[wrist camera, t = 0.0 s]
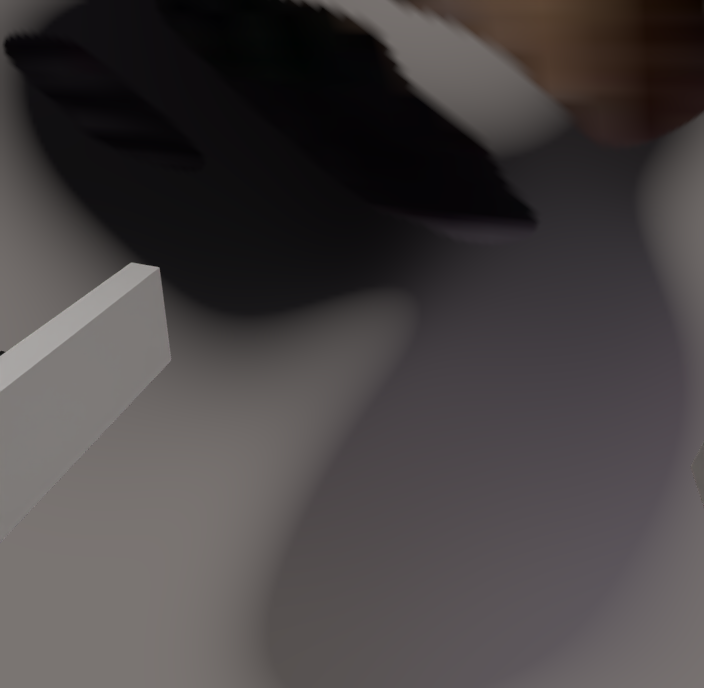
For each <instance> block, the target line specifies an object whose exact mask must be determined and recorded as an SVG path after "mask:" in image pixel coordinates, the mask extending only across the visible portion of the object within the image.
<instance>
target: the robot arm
mask: <svg viewBox="0 0 704 688" xmlns="http://www.w3.org/2000/svg"><path fill="white" fill-rule="evenodd" d="M170 361H171V353H170V345H169V337H168V330H167V322H166V314H165V307H164V299H163V291H162V284H161V276H160V268H159V267H153V266H148V265H142V264H137V263H130V264H129V265H127V266H126V267H124V268H123V269H122V270H120V271H119V272H118V273H116V274H115V275H113V276H112V277H110V278H109V279H108V280H106V281H105V282H103V283H102V284H101V285H99V286H98V287H96V288H95V289H94V290H92V291H91V292H89V293H88V294H87V295H85V296H84V297H82V298H81V299H79V300H78V301H77V302H75V303H74V304H73V305H71V306H70V307H68V308H67V309H65V310H64V311H63V312H61V313H60V314H58V315H57V316H56V317H54V318H53V319H51V320H50V321H49V322H47V323H46V324H44V325H43V326H42V327H40V328H39V329H38V330H36V331H35V332H33V333H32V334H30V335H29V336H28V337H26V338H25V339H23V340H22V341H21V342H19V343H18V344H16V345H15V346H14V347H12V348H11V349H10V350H8V351H7V352H4V351H0V543H1V542H2V540H3V539H4V538H5V537H6V536H7V535H8V534H9V533H10V532H11V531H12V530H13V529H14V528H15V527H16V526H17V524H18V523H19V522H20V521H21V520H22V519H23V518H24V517H25V516H26V515H27V514H28V513H29V512H30V511H31V510H32V509H33V507H34V506H35V505H36V504H37V503H38V502H39V501H40V500H41V499H42V498H43V497H44V496H45V495H46V493H48V491H49V490H50V489H51V488H52V487H53V486H54V485H55V484H56V483H57V482H58V481H59V480H60V479H61V478H62V477H63V475H64V474H65V473H66V472H67V471H68V470H69V469H70V468H71V467H72V466H73V465H74V464H75V463H76V462H77V460H78V459H79V458H80V457H81V456H82V455H83V454H84V453H85V452H86V451H87V449H89V447H91V446H92V444H93V443H94V442H95V441H96V440H97V439H98V438H99V437H100V436H101V435H102V434H103V433H104V432H105V431H106V430H107V428H108V427H109V426H110V425H111V424H112V423H113V422H114V421H115V420H116V419H117V418H118V417H119V415H121V414H122V412H123V411H124V410H125V409H126V408H127V407H128V406H129V405H130V404H131V403H132V402H133V401H134V400H135V399H136V398H137V396H138V395H139V394H140V393H141V392H142V391H143V390H144V389H145V388H146V387H147V386H148V385H149V384H150V383H151V382H152V380H153V379H154V378H155V377H156V376H157V375H158V374H159V373H160V372H161V371H162V370H163V369H164V368H165V367H166V365H167V364H168V363H169V362H170ZM691 470H692V473H693V476H694V479H695V482H696V485H697V488H698V491H699V494H700V497H701V500H702V503H703V506H704V442H703V444H702V446H701V448H700V450H699V452H698V454H697V456H696V458H695V460H694V462H693V464H692V465H691Z"/></svg>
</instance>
